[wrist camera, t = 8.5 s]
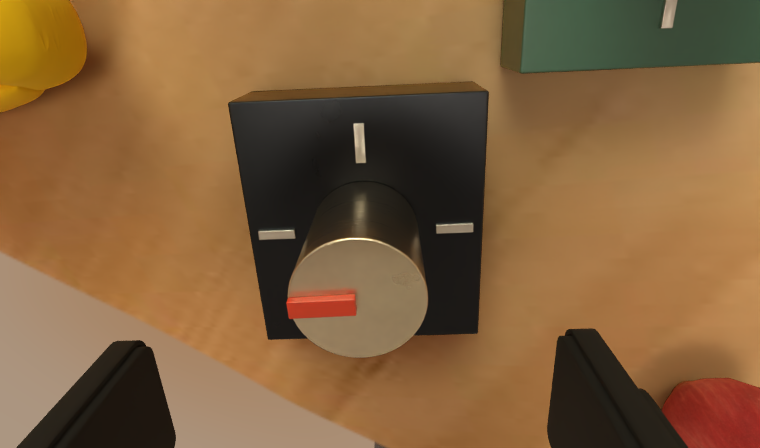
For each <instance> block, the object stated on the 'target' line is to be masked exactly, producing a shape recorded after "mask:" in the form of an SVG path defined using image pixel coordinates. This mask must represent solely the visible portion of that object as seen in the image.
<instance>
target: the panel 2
mask: <svg viewBox="0 0 760 448" xmlns="http://www.w3.org/2000/svg"><path fill="white" fill-rule="evenodd" d="M742 63H760V0H504V9H503V28H502V47H501V67H504V68H507V69H510V70H513V71H516V72H519V73H522V74H523V73H545V72H567V71H589V70H611V69H633V68H655V67H677V66H698V65H720V64H742Z"/></svg>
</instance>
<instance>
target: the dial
mask: <svg viewBox="0 0 760 448" xmlns="http://www.w3.org/2000/svg"><path fill="white" fill-rule="evenodd" d="M286 304H287V310H288V316H289V319H294V321H295V323H296V325H297V326H298V328H299V329H300V330H301V332H302V333H303V334H304V335H305V336H306V337H307V338H308V339H309V340H310V341H312V342H313V343H314V344H316V345H317V346H319V347H321V348H322V349H324V350H327V351H329V352H331V353H334V354H337V355H341V356H346V357H354V358H365V357H374V356H378V355H382V354H385V353H388V352H390V351H393V350H395V349H397V348H398V347H400V346H402V345H403V344H404V343H406V342H407V341H408V340H409V339H410V338H411V337H412V336H413V335H414V334H415V333H416V331H417V330H418V329H419V327H420V326H421V324H422V322H423V320H424V317H425V315H426V311H427V306H428V291H427V284H426V278H425V271H424V265H423V258H422V252H421V245H420V238H419V232H418V225H417V220H416V216H415V214H414V211H413V209H412V208H411V206H410V204H409V203H408V202H407V201H406V199H405V198H404V197H403V196H402V195H401V194H399V193H398V192H397V191H395V190H393V189H392V188H390V187H388V186H385V185H383V184H379V183H375V182H353V183H349V184H346V185H344V186H341V187H339V188H337V189H336V190H334V191H333V192H331V193H330V194H329V195H328V196H327V197H326V198H325V199H324V200H323V201H322V203H321V204H320V206H319V207H318V209H317V211H316V214H315V217H314V219H313V222H312V224H311V227H310V230H309V232H308V235H307V237H306V240H305V243H304V245H303V248H302V250H301V253H300V256H299V258H298V261H297V263H296V266H295V269H294V271H293V274H292V276H291V279H290V282H289V287H288V300H287V302H286Z"/></svg>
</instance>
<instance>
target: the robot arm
mask: <svg viewBox="0 0 760 448" xmlns="http://www.w3.org/2000/svg"><path fill="white" fill-rule="evenodd" d="M547 432H548V439H549V443H550V446H551V448H688V446H687V445H686V444H685V442H684V441H683V440H682V438H681V437H680V435H679V434H678V433H677V431H676V430H675V429H674V427H673V426H672V425H671V423H670V422H669V420H668V419H667V418H666V416H665V415H664V414H663V412H662V411H661V409H660V408H659V407H658V405H657V404H656V403H655V401H654V400H653V399H652V397H651V396H650V395H649V394H648V393H647V392H646V391H645V390H643V389H638V388H637V386H636V385H635V384H634V382H633V381H632V379H631V378H630V377H629V375H628V374H627V372H626V371H625V370H624V368H623V367H622V365H621V364H620V363H619V361H618V360H617V358H616V357H615V355H614V354H613V353H612V351H611V350H610V348H609V347H608V346H607V344H606V343H605V341H604V340H603V339H602V337H601V336H600V334H599V333H598V332H597V331H596V330H595V329H568V330H567V331H566V333H565V336H559V337H558V340H557V347H556V356H555V365H554V373H553V382H552V390H551V399H550V408H549V416H548V425H547ZM175 441H176V435H175V430H174V426H173V423H172V419H171V415H170V412H169V408H168V405H167V401H166V397H165V394H164V390H163V386H162V383H161V379H160V375H159V372H158V368H157V364H156V361H155V357H154V353H153V351H152V349H151V348H150V347H146V345H145V343H144V342H143V341H140V340H137V341H116V342H113V343H112V344H111V345H110V346H109V347H108V348H107V349H106V350H105V351H104V352H103V354H102V355H101V356H100V357H99V358H98V359H97V360H96V361H95V362H94V363H93V364H92V366H91V367H90V368H89V369H88V370H87V371H86V372H85V373H84V374H83V376H82V377H81V378H80V379H79V380H78V381H77V382H76V383H75V384H74V385H73V386H72V387H71V389H70V390H69V391H68V392H67V393H66V394H65V395H64V396H63V397H62V398H61V400H60V401H59V402H58V403H57V404H56V405H55V406H54V407H53V408H52V409H51V410H50V411H49V413H48V414H47V415H46V416H45V417H44V418H43V419H42V420H41V421H40V423H39V424H38V425H37V426H36V427H35V428H34V429H33V430H32V431H31V432H30V433H29V434H28V436H27V437H26V438H25V439H24V440H23V441H22V442H21V443H20V444H19V445H18V446H17V448H174V446H175Z"/></svg>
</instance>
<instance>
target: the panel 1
mask: <svg viewBox="0 0 760 448" xmlns="http://www.w3.org/2000/svg"><path fill="white" fill-rule="evenodd" d="M488 99H489V92H488V91H487V90H486V89H484V88H482V87H481V86H479V85H478V84H476V83H474V82H451V83H429V84H407V85H385V86H363V87H341V88H319V89H297V90H275V91H253V92H250V93H248V94H246V95H244V96H242V97H239V98H237V99H235V100H233V101H231V102H229V103H228V107H229V112H230V118H231V124H232V130H233V136H234V142H235V148H236V154H237V160H238V165H239V171H240V177H241V183H242V189H243V195H244V201H245V207H246V213H247V219H248V224H249V230H250V236H251V242H252V248H253V254H254V260H255V266H256V272H257V277H258V283H259V289H260V295H261V301H262V307H263V313H264V319H265V325H266V331H267V336H268V339H269V340H274V339H308V338H307V337H306V336H305V335H304V334H303V333H302V332H301V330H300V329H299V328H298V326H297V325H296V323H295V321H294V319H289V316H288V310H287V304H286V302H287V300H288V287H289V282H290V279H291V276H292V274H293V271H294V269H295V266H296V263H297V261H298V258H299V256H300V253H301V250H302V248H303V245H304V243H305V240H306V237H307V235H308V232H309V230H310V227H311V224H312V222H313V219H314V217H315V214H316V211H317V209H318V207H319V206H320V204H321V203H322V201H323V200H324V199H325V198H326V197H327V196H328V195H329V194H330V193H331V192H333V191H334V190H336V189H337V188H339V187H341V186H344V185H346V184H349V183H353V182H375V183H379V184H383V185H385V186H388V187H390V188H392V189H393V190H395V191H397V192H398V193H399V194H401V195H402V196H403V197H404V198H405V199H406V201H407V202H408V203H409V204H410V206H411V208H412V209H413V211H414V214H415V216H416V220H417V225H418V232H419V238H420V245H421V252H422V258H423V265H424V271H425V278H426V284H427V291H428V306H427V311H426V315H425V317H424V320H423V322H422V324H421V326H420V327H419V329H418V330H417V331H416V333H415V334H414V335H449V334H477V333H478V321H479V299H480V277H481V255H482V232H483V210H484V188H485V166H486V143H487V121H488ZM414 335H413V336H414Z"/></svg>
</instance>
